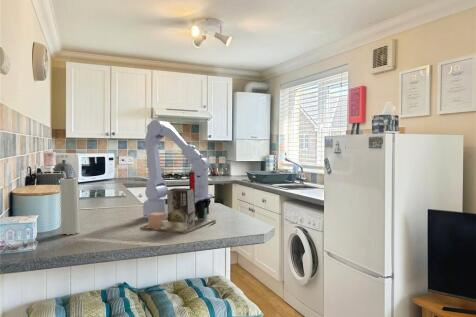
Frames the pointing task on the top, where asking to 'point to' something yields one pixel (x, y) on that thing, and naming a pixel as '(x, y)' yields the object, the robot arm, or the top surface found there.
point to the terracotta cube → (156, 219)
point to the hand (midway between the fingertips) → (202, 217)
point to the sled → (181, 224)
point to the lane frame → (176, 231)
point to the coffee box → (181, 206)
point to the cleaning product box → (193, 184)
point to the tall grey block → (69, 205)
